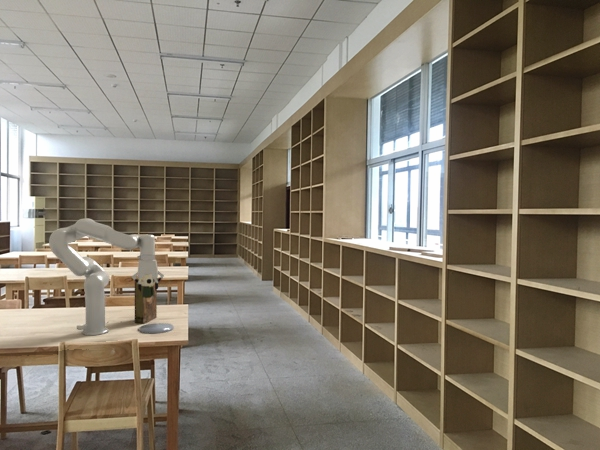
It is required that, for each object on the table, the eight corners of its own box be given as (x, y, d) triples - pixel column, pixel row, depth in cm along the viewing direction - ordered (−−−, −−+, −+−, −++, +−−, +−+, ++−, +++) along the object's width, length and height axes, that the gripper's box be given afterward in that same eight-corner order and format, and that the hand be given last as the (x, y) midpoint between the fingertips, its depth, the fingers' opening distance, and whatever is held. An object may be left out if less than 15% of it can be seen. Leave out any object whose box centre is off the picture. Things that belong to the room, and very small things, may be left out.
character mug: (144, 300, 247) (143, 275, 247) (135, 298, 251) (134, 274, 251) (160, 296, 257) (160, 272, 256) (152, 295, 260) (151, 271, 260)
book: (149, 316, 287) (149, 275, 286) (157, 317, 286) (157, 276, 285) (134, 323, 271) (134, 280, 270) (143, 324, 270) (143, 280, 269)
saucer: (138, 334, 249) (138, 332, 249) (140, 325, 266) (140, 324, 266) (173, 332, 254) (173, 330, 254) (173, 324, 271) (173, 322, 271)
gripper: (129, 259, 247) (130, 292, 248) (164, 258, 251) (165, 291, 252) (131, 257, 255) (131, 290, 255) (164, 256, 259) (165, 288, 260)
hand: (148, 290), depth 254 cm, fingers closed on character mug, 7 cm apart
